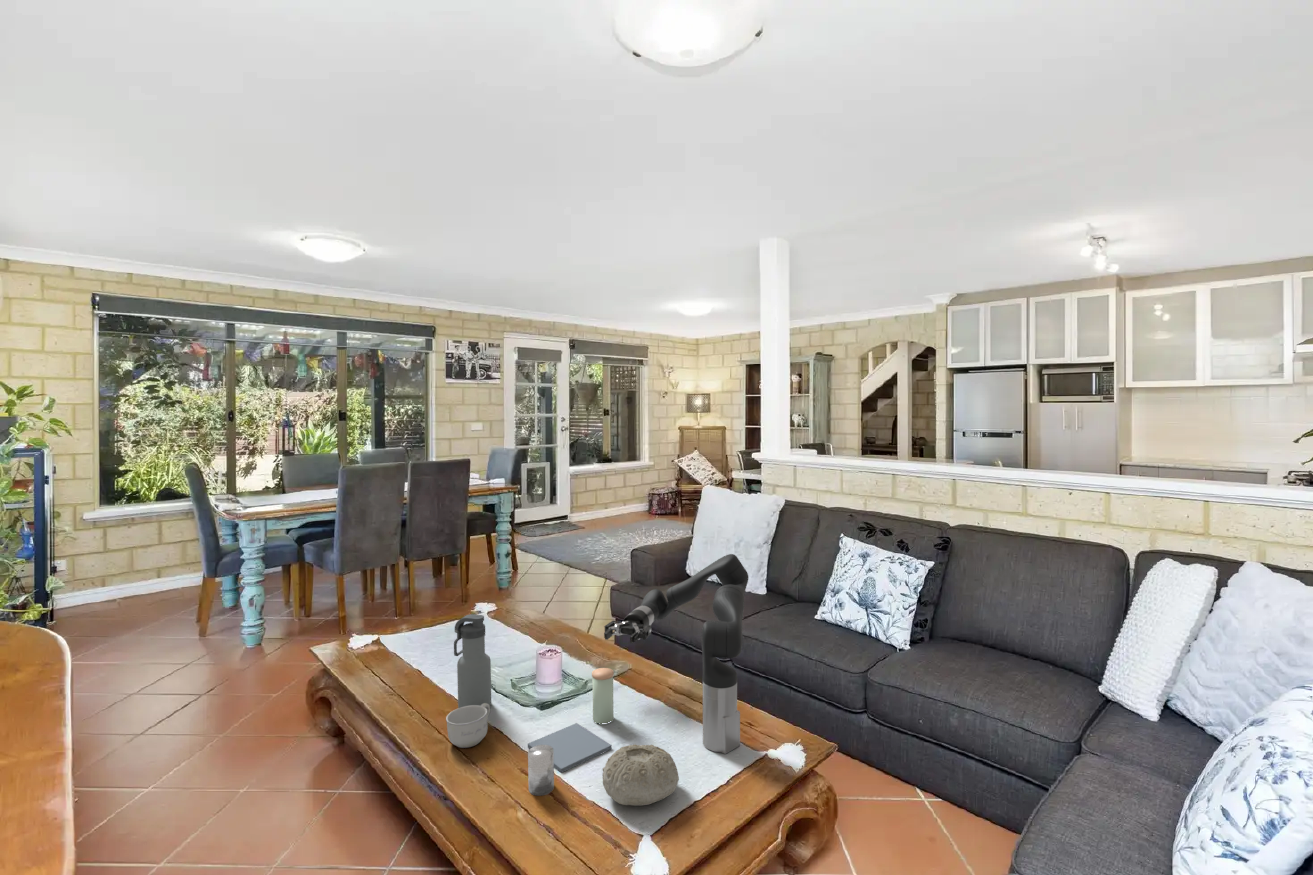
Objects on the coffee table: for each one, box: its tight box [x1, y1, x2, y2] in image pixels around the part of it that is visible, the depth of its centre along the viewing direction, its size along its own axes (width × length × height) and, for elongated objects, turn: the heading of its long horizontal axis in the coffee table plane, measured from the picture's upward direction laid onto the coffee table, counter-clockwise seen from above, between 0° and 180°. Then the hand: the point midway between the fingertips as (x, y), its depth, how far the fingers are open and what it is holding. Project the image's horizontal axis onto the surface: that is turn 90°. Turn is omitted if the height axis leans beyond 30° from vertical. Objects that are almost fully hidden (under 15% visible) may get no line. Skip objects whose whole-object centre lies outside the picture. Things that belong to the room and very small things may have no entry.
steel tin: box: [527, 745, 555, 797], centre depth 150 cm, size 6×6×9 cm
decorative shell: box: [602, 743, 680, 807], centre depth 148 cm, size 18×18×10 cm
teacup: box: [445, 703, 491, 749], centre depth 172 cm, size 14×11×8 cm
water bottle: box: [453, 613, 492, 709], centre depth 190 cm, size 10×10×28 cm
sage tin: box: [591, 667, 615, 725], centre depth 183 cm, size 6×6×14 cm
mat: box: [527, 722, 612, 773], centre depth 168 cm, size 16×16×1 cm
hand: (618, 638), depth 192 cm, fingers open, 8 cm apart
